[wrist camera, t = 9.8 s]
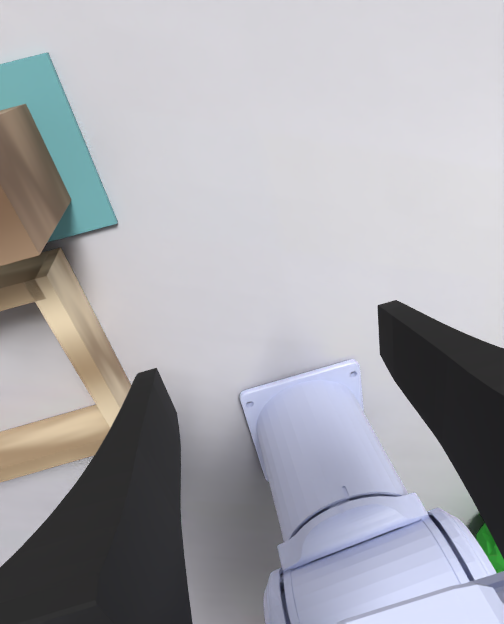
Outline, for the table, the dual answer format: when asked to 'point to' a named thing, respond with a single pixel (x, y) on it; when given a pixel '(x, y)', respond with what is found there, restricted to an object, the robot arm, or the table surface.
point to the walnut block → (26, 188)
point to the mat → (58, 141)
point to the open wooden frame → (83, 355)
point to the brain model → (490, 548)
